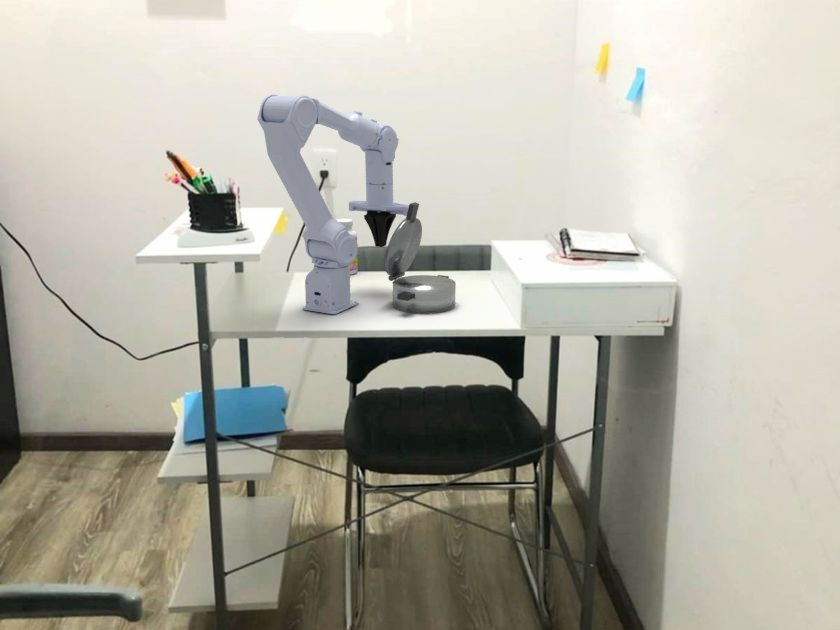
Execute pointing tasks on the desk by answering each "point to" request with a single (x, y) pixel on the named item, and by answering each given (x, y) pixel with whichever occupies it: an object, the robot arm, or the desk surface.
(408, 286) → the pot
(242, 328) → the desk surface
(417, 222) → the lid
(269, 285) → the desk surface
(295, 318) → the desk surface
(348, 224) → the supplement bottle
